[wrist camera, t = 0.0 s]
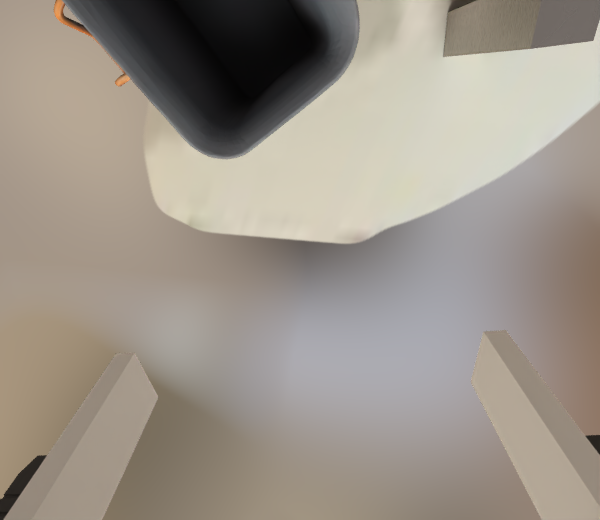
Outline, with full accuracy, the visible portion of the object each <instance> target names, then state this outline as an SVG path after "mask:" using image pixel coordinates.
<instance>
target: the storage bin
mask: <svg viewBox="0 0 600 520" xmlns="http://www.w3.org/2000/svg"><path fill="white" fill-rule="evenodd" d="M65 5H66V6H67V7H68V8H69V9H70V10H71V12H72V13H73V14H74V15H75V16H76V17H77V19H78V20H79V21H80V22H81V23H82V24H83V25H82V24H80V23H78V22H75V21H73V20H71V19H69V18H67V17H65V16H64V14H63V8H64V6H65ZM54 13H55V16H56V18H57V19H58V20H59V21H60V22H61V23H63V24H65V25H67V26H69V27H72V28H74V29H76V30H78V31H80V32H82V33H85V34H87V35H89V36H91V37H92V38H93V39H94V40H96V42H97V43H98V44H99V45H100V46H101V47H102V48H103V49H104V50H105V52H106V53H107V54H108V55H109V56H110V57H111V59H112V60H113V61H114V62H115V63H116V64H117V66H118V67H119V68H120V69H121V70H122V72H123V73H124V74H123V75H121V76H120V77H119V78H118V79H117V80H116V81H115V84H116V85H117V86H122V85H123V84H125V83H126V82H127V81H129V80H130V79H131V80H132V81H133V82H134V83H135V85H136V86H137V87H138V88H139V89H140V90H141V91H142V92H143V93H144V95H145V96H146V97H147V98H148V99H149V100H150V101H151V103H152V104H153V105H154V106H155V107H156V108H157V109H158V110H159V111H160V112H161V114H162V115H163V116H164V117H165V118H166V119H167V120H168V121H169V123H170V124H171V125H172V126H173V127H174V128H175V129H176V131H177V132H178V133H179V134H180V135H181V137H182V138H183V139H184V140H185V141H186V142H187V143H188V144H189V145H190V146H192V147H193V148H195V149H196V150H198V151H199V152H201V153H203V154H205V155H207V156H209V157H213V158H218V159H232V158H237V157H240V156H242V155H245V154H246V153H248V152H250V151H251V150H252V149H253V148H255V147H256V146H257V145H258V144H260V143H261V142H262V141H263V140H265V139H266V138H267V137H268V136H270V135H271V134H272V133H273V132H275V131H276V130H277V129H279V128H280V127H281V126H282V125H284V124H285V123H286V122H287V121H289V120H290V119H291V118H292V117H294V116H295V115H296V114H298V113H299V112H300V111H301V110H302V109H304V108H305V107H306V106H307V105H309V104H310V103H311V102H312V101H314V100H315V99H316V98H317V97H318V96H320V95H321V94H322V93H323V92H324V91H326V90H327V89H328V88H329V87H330V86H332V85H333V84H334V83H335V82H336V81H337V80H338V79H339V78H340V77H341V76H342V75H343V74H344V72H345V71H346V69H347V68H348V66H349V64H350V62H351V60H352V58H353V56H354V53H355V50H356V47H357V43H358V38H359V11H358V5H357V2H356V0H56V2H55V6H54Z"/></svg>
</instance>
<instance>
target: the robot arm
mask: <svg viewBox="0 0 600 520" xmlns="http://www.w3.org/2000/svg"><path fill="white" fill-rule="evenodd" d="M471 384H472V386H473V388H474V389H475V391H476V393H477V395H478V397H479V399H480V401H481V403H482V405H483V407H484V409H485V411H486V413H487V415H488V416H489V419H490V421H491V422H492V424H493V426H494V428H495V430H496V432H497V434H498V436H499V438H500V440H501V442H502V443H503V446H504V448H505V449H506V452H507V453H508V455H509V457H510V459H511V461H512V463H513V465H514V467H515V469H516V471H517V473H518V475H519V477H520V479H521V481H522V482H523V484H524V486H525V488H526V490H527V492H528V494H529V496H530V498H531V500H532V502H533V504H534V506H535V507H536V510H537V512H538V514H539V515H540V517H541V519H542V520H600V435H591V436H585V435H584V434H583V432H582V431H581V430H580V428H579V427H578V426H577V424H576V423H575V422H574V420H573V419H572V418H571V416H570V415H569V414H568V412H567V411H566V410H565V408H564V407H563V406H562V404H561V403H560V402H559V400H558V399H557V398H556V396H555V395H554V394H553V393H552V391H551V390H550V389H549V387H548V386H547V384H546V383H545V382H544V381H543V379H542V378H541V376H540V375H539V374H538V372H537V371H536V370H535V369H534V367H533V366H532V365H531V363H530V362H529V361H528V359H527V358H526V357H525V355H524V354H523V353H522V351H521V350H520V349H519V347H518V346H517V345H516V343H515V342H514V341H513V339H512V338H511V337H510V335H509V334H508V333H507V331H506V330H502V331H486V332H483V335H482V339H481V344H480V348H479V351H478V355H477V359H476V363H475V367H474V371H473V375H472V379H471ZM157 399H158V396H157V394H156V392H155V390H154V388H153V386H152V384H151V383H150V381H149V379H148V377H147V375H146V373H145V371H144V370H143V368H142V366H141V364H140V362H139V360H138V358H137V356H136V354H135V353H122V354H116V355H115V356H114V357H113V359H112V361H111V362H110V363H109V365H108V366H107V368H106V369H105V371H104V372H103V374H102V375H101V377H100V378H99V380H98V381H97V383H96V384H95V385H94V387H93V389H92V390H91V391H90V393H89V395H88V396H87V398H86V399H85V401H84V402H83V403H82V405H81V406H80V408H79V409H78V411H77V412H76V413H75V415H74V417H73V418H72V419H71V421H70V422H69V424H68V425H67V427H66V428H65V430H64V431H63V433H62V434H61V436H60V437H59V439H58V440H57V442H56V443H55V445H54V446H53V447H52V449H51V450H50V452H49V453H48V455H45V456H37V457H36V458H35V459H34V460H33V461H32V462H31V463H30V464H29V465H27V467H25V468H24V469H23V470H22V471H21V472H20V473H19V474H18V476H17V477H16V478H15V480H14V481H13V483H12V484H11V485H10V487H9V488H8V490H7V491H6V492H5V494H4V497H3V498H2V499H0V520H102V519H103V516H104V514H105V512H106V510H107V508H108V506H109V504H110V501H111V499H112V497H113V495H114V493H115V491H116V488H117V486H118V484H119V482H120V480H121V477H122V475H123V473H124V471H125V469H126V467H127V464H128V462H129V460H130V458H131V456H132V454H133V451H134V449H135V447H136V445H137V443H138V440H139V438H140V436H141V434H142V432H143V430H144V427H145V425H146V423H147V421H148V419H149V416H150V414H151V412H152V410H153V408H154V406H155V403H156V401H157Z"/></svg>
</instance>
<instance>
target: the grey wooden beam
mask: <svg viewBox="0 0 600 520" xmlns="http://www.w3.org/2000/svg"><path fill="white" fill-rule="evenodd" d="M599 20H600V0H477V1H474V2H472V3H469V4H467V5H465V6H462V7H460V8H457V9H455V10H452V11H450V12H448V16H447V26H446V36H445V45H444V55H443V57H447V56H458V55H468V54H479V53H490V52H501V51H512V50H522V49H532V48H540V47H548V46H556V45H564V44H572V43H580V42H588V41H593V40H594V36H595V33H596V30H597V26H598V23H599Z"/></svg>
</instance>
